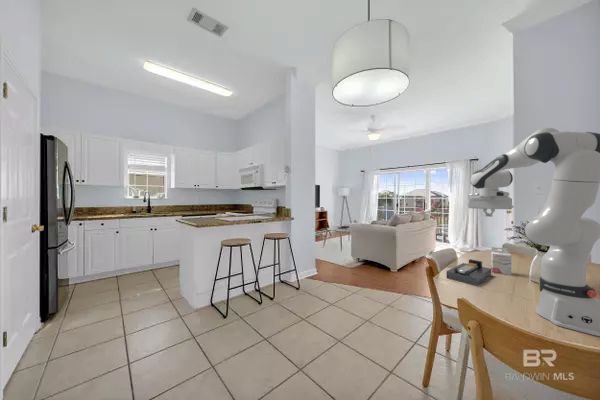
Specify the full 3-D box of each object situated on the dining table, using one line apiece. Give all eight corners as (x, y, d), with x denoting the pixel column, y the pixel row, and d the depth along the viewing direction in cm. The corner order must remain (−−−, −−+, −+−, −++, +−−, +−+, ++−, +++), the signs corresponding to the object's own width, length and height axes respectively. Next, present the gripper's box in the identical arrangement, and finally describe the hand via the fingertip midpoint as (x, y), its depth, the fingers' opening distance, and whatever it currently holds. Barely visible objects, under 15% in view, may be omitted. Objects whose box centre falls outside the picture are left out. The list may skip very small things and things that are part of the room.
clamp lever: (478, 267, 131) (478, 263, 131) (465, 274, 120) (465, 270, 120) (470, 265, 134) (470, 262, 134) (456, 272, 123) (456, 268, 123)
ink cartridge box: (492, 272, 133) (492, 248, 133) (491, 270, 138) (490, 246, 137) (511, 275, 129) (511, 250, 128) (509, 272, 133) (509, 248, 133)
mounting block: (491, 275, 129) (491, 262, 129) (476, 285, 115) (476, 271, 115) (463, 269, 141) (463, 257, 140) (446, 278, 127) (446, 265, 127)
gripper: (466, 193, 139) (466, 215, 139) (510, 193, 122) (510, 218, 122) (469, 193, 142) (470, 215, 143) (513, 192, 126) (513, 217, 126)
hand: (488, 216), depth 132 cm, fingers closed
